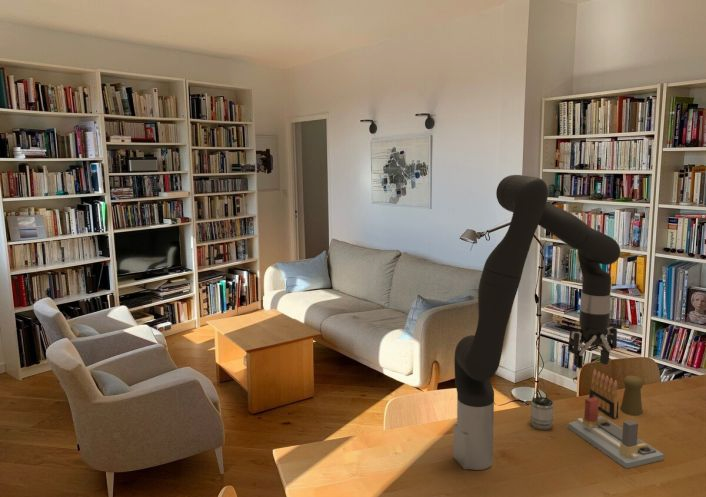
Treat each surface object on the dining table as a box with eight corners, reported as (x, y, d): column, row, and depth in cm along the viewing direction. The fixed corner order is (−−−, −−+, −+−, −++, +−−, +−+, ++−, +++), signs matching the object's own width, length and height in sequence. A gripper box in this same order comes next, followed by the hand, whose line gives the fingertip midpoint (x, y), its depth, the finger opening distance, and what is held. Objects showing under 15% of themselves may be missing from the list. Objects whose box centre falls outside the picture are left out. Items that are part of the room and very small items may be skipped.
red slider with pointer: (589, 429, 151) (590, 402, 150) (582, 425, 153) (583, 398, 152) (609, 425, 153) (611, 398, 152) (603, 421, 156) (604, 394, 154)
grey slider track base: (626, 468, 136) (628, 430, 134) (567, 427, 157) (569, 394, 155) (663, 459, 140) (666, 422, 138) (601, 420, 160) (603, 387, 159)
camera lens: (526, 425, 159) (527, 400, 157) (535, 417, 163) (536, 393, 162) (547, 432, 155) (548, 406, 153) (556, 424, 159) (557, 399, 158)
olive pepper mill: (643, 409, 167) (645, 375, 165) (641, 417, 162) (644, 382, 160) (621, 404, 170) (623, 371, 168) (619, 412, 165) (621, 378, 163)
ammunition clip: (618, 418, 162) (620, 380, 160) (613, 419, 161) (615, 381, 159) (593, 402, 172) (595, 367, 170) (588, 403, 171) (590, 368, 169)
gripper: (582, 315, 141) (579, 374, 144) (626, 310, 145) (622, 367, 148) (563, 308, 148) (560, 363, 151) (606, 303, 153) (602, 357, 155)
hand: (591, 365), depth 150 cm, fingers open, 8 cm apart
